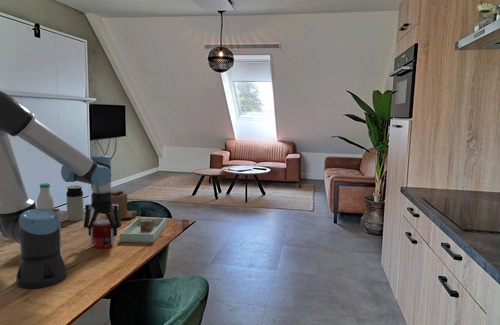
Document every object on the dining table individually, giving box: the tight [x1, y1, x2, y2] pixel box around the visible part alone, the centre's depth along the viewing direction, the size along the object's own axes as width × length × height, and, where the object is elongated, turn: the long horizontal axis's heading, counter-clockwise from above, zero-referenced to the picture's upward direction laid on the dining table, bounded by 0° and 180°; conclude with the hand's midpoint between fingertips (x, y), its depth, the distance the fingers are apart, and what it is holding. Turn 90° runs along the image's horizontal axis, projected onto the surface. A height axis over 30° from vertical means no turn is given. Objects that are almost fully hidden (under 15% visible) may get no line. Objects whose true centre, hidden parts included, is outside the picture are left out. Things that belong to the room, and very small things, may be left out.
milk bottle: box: [36, 183, 55, 209], centre depth 193 cm, size 8×8×20 cm
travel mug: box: [65, 184, 85, 222], centre depth 198 cm, size 8×8×18 cm
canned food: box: [93, 218, 113, 250], centre depth 160 cm, size 8×8×11 cm
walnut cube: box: [140, 219, 154, 232], centre depth 181 cm, size 5×5×5 cm
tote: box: [119, 217, 168, 244], centre depth 178 cm, size 26×15×4 cm, turn 0°
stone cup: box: [110, 190, 138, 220], centre depth 202 cm, size 15×12×15 cm
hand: (103, 243), depth 160 cm, fingers closed on canned food, 8 cm apart
